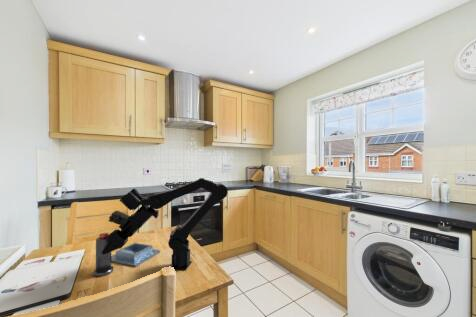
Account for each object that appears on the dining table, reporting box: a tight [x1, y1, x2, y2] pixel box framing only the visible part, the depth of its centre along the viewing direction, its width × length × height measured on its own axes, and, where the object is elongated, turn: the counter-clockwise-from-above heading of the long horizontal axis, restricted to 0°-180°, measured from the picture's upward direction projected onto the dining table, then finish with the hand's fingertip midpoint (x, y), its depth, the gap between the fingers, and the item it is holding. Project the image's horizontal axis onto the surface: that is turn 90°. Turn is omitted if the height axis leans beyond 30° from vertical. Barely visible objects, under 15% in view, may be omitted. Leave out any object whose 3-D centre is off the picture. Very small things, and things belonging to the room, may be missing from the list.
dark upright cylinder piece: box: [92, 232, 114, 278], centre depth 79 cm, size 6×6×14 cm
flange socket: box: [111, 242, 161, 268], centre depth 92 cm, size 16×14×4 cm
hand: (108, 248), depth 79 cm, fingers open, 9 cm apart
